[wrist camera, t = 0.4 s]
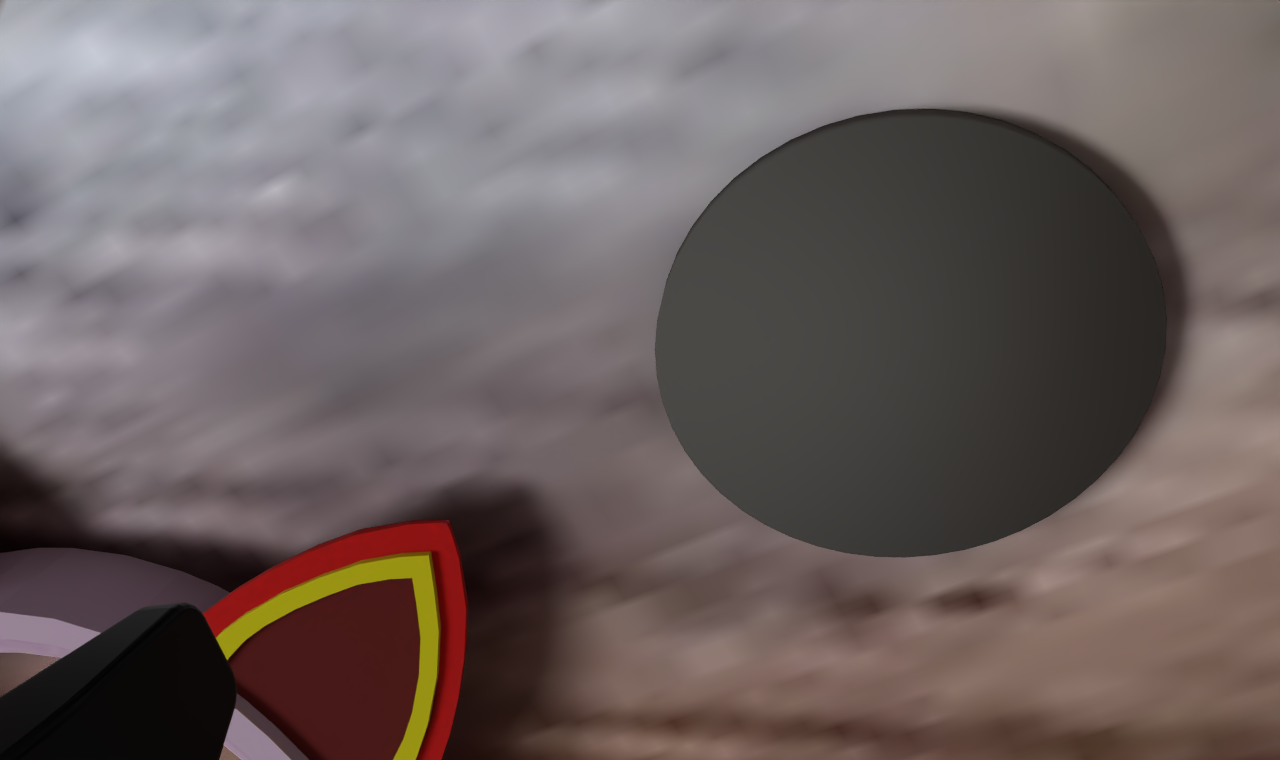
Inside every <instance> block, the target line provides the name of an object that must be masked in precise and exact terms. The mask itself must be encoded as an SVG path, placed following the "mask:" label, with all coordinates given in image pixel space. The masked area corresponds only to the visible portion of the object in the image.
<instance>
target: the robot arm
mask: <svg viewBox="0 0 1280 760" xmlns="http://www.w3.org/2000/svg"><path fill="white" fill-rule="evenodd" d="M236 698H237V684H236V680H235V675H234V673H233V671H232V669H231V667H230V665H229V663H228V661H227V659H226V657H225V655H224V653H223V651H222V649H221V647H220V645H219V643H218V641H217V640H216V638H215V636H214V634H213V632H212V630H211V628H210V626H209V624H208V622H207V620H206V618H205V616H204V615H203V613H202V612H201V611H200V610H199V609H198V608H197V607H196V606H194V605H193V604H189V603H185V602H181V603H170V604H160V605H151V606H146V607H143V608H140V609H138V610H136V611H135V612H133V613H132V614H130V615H128V616H127V617H125V618H124V619H122V620H121V621H119V622H117V623H116V624H114V625H113V626H111V627H110V628H108V629H106V630H105V631H103V632H102V633H100V634H99V635H97V636H96V637H94V638H92V639H91V640H89V641H88V642H86V643H85V644H83V645H81V646H80V647H78V648H77V649H75V650H74V651H72V652H70V653H69V654H67V655H66V656H64V657H63V658H61V659H59V660H58V661H56V662H55V663H53V664H52V665H50V666H49V667H47V668H45V669H44V670H42V671H41V672H39V673H38V674H36V675H34V676H33V677H31V678H30V679H28V680H27V681H25V682H23V683H22V684H20V685H19V686H17V687H16V688H14V689H12V690H11V691H9V692H8V693H6V694H5V695H3V696H1V697H0V760H219V758H220V755H221V752H222V748H223V745H224V742H225V739H226V735H227V732H228V729H229V726H230V722H231V719H232V716H233V713H234V709H235V705H236Z"/></svg>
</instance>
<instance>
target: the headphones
mask: <svg viewBox="0 0 1280 760" xmlns="http://www.w3.org/2000/svg"><path fill="white" fill-rule="evenodd" d="M181 602H185V603H189V604H193V605H194V606H196V607H197V608H198V609H199V610H200V611H201V612H202V613H203V615H204V616H205V618H206V620H207V622H208V624H209V626H210V628H211V630H212V632H213V634H214V636H215V638H216V640H217V641H218V643H219V645H220V647H221V649H222V651H223V653H224V655H225V657H226V659H227V661H228V663H229V665H230V667H231V669H232V671H233V673H234V675H235V680H236V684H237V698H236V705H235V709H234V713H233V716H232V719H231V722H230V726H229V729H228V732H227V735H226V739H225V742H224V746H225V747H227V748H228V749H229V750H230V751H231V752H233V753H234V754H235V755H236V756H237V757H239V758H240V759H241V760H442V757H443V754H444V751H445V748H446V745H447V742H448V739H449V736H450V733H451V730H452V727H453V722H454V718H455V714H456V709H457V705H458V701H459V696H460V692H461V685H462V678H463V671H464V663H465V656H466V648H467V626H468V598H467V592H466V585H465V579H464V573H463V567H462V561H461V554H460V551H459V548H458V545H457V542H456V539H455V536H454V533H453V530H452V527H451V524H450V521H449V520H413V521H407V522H401V523H395V524H389V525H383V526H377V527H371V528H365V529H360V530H357V531H355V532H352V533H349V534H346V535H344V536H341V537H338V538H335V539H333V540H330V541H327V542H324V543H322V544H319V545H317V546H315V547H313V548H310V549H308V550H306V551H304V552H302V553H300V554H298V555H296V556H294V557H292V558H290V559H287V560H285V561H283V562H281V563H279V564H277V565H275V566H273V567H271V568H270V569H268V570H266V571H265V572H263V573H261V574H260V575H258V576H256V577H254V578H253V579H251V580H249V581H248V582H246V583H244V584H242V585H241V586H239V587H238V588H236V589H235V590H234V591H232V592H231V593H230V592H228V591H226V590H224V589H222V588H220V587H218V586H216V585H214V584H212V583H209V582H207V581H204V580H202V579H199V578H197V577H195V576H192V575H190V574H187V573H185V572H182V571H179V570H176V569H172V568H169V567H165V566H162V565H158V564H155V563H152V562H148V561H145V560H141V559H138V558H134V557H131V556H127V555H121V554H114V553H106V552H99V551H91V550H84V549H76V548H33V549H26V550H19V551H12V552H5V553H0V653H27V654H35V655H43V656H51V657H59V658H63V657H64V656H66V655H67V654H69V653H70V652H72V651H74V650H75V649H77V648H78V647H80V646H81V645H83V644H85V643H86V642H88V641H89V640H91V639H92V638H94V637H96V636H97V635H99V634H100V633H102V632H103V631H105V630H106V629H108V628H110V627H111V626H113V625H114V624H116V623H117V622H119V621H121V620H122V619H124V618H125V617H127V616H128V615H130V614H132V613H133V612H135V611H136V610H138V609H140V608H143V607H146V606H151V605H160V604H170V603H181Z"/></svg>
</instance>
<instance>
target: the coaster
mask: <svg viewBox="0 0 1280 760" xmlns="http://www.w3.org/2000/svg"><path fill="white" fill-rule="evenodd" d="M1166 320H1167V317H1166V309H1165V301H1164V293H1163V287H1162V284H1161V280H1160V277H1159V274H1158V270H1157V267H1156V263H1155V260H1154V257H1153V255H1152V253H1151V251H1150V249H1149V247H1148V245H1147V243H1146V241H1145V239H1144V237H1143V235H1142V233H1141V231H1140V229H1139V228H1138V226H1137V225H1136V224H1135V222H1134V221H1133V219H1132V218H1131V216H1130V215H1129V214H1128V212H1127V211H1126V209H1125V208H1124V207H1123V205H1122V204H1121V202H1120V201H1119V200H1118V198H1117V197H1116V195H1115V194H1114V193H1113V192H1112V191H1111V190H1110V188H1109V187H1108V186H1107V185H1106V184H1105V183H1104V182H1103V181H1102V180H1101V179H1100V178H1099V177H1098V176H1097V175H1096V174H1095V173H1094V172H1093V171H1092V170H1091V169H1090V168H1088V167H1087V166H1086V165H1084V164H1083V163H1082V162H1080V161H1079V160H1078V159H1076V158H1075V157H1074V156H1073V155H1071V154H1070V153H1069V152H1067V151H1066V150H1065V149H1063V148H1061V147H1059V146H1057V145H1056V144H1054V143H1052V142H1050V141H1048V140H1046V139H1045V138H1043V137H1041V136H1039V135H1037V134H1035V133H1033V132H1031V131H1028V130H1025V129H1023V128H1020V127H1017V126H1015V125H1012V124H1009V123H1007V122H1004V121H1001V120H997V119H993V118H988V117H984V116H980V115H975V114H971V113H966V112H956V111H945V110H935V109H918V110H893V111H886V112H880V113H874V114H867V115H861V116H856V117H853V118H849V119H846V120H842V121H839V122H835V123H832V124H829V125H825V126H822V127H820V128H818V129H815V130H813V131H811V132H808V133H806V134H804V135H801V136H799V137H797V138H794V139H792V140H790V141H788V142H787V143H785V144H783V145H781V146H780V147H778V148H776V149H775V150H773V151H771V152H769V153H768V154H766V155H764V156H763V157H761V158H760V159H758V160H757V161H756V162H754V163H753V164H752V165H751V166H749V167H748V168H747V169H745V170H744V171H743V172H742V173H740V174H739V175H738V176H736V177H735V178H734V179H733V180H732V181H731V182H730V183H729V184H728V185H727V186H726V187H725V188H724V189H723V190H722V191H721V192H720V193H719V194H718V195H717V196H716V197H715V198H714V199H713V200H712V201H711V202H710V204H709V205H708V206H707V208H706V209H705V210H704V211H703V213H702V214H701V215H700V217H699V218H698V219H697V221H696V222H695V223H694V225H693V226H692V228H691V229H690V231H689V233H688V235H687V237H686V238H685V240H684V242H683V244H682V245H681V247H680V249H679V251H678V253H677V255H676V258H675V260H674V263H673V265H672V268H671V270H670V273H669V276H668V278H667V281H666V285H665V290H664V294H663V298H662V302H661V307H660V311H659V316H658V320H657V330H656V343H655V356H656V370H657V379H658V383H659V388H660V393H661V397H662V402H663V405H664V407H665V410H666V413H667V415H668V418H669V421H670V423H671V426H672V428H673V430H674V432H675V434H676V436H677V438H678V439H679V441H680V443H681V445H682V447H683V448H684V450H685V452H686V453H687V455H688V456H689V457H690V459H691V460H692V461H693V463H694V464H695V465H696V467H697V468H698V470H699V471H700V472H701V474H702V475H703V476H704V477H705V478H706V479H707V480H708V481H709V482H710V483H711V484H712V485H713V486H714V487H715V488H716V489H717V490H718V491H719V492H720V493H721V494H722V495H723V496H725V497H726V498H727V499H728V500H730V501H731V502H732V503H733V504H735V505H736V506H737V507H738V508H740V509H741V510H742V511H744V512H746V513H747V514H749V515H750V516H752V517H753V518H755V519H757V520H758V521H760V522H761V523H763V524H765V525H767V526H769V527H771V528H773V529H775V530H777V531H779V532H781V533H783V534H786V535H788V536H790V537H792V538H795V539H798V540H801V541H804V542H807V543H810V544H812V545H815V546H818V547H823V548H827V549H831V550H836V551H840V552H844V553H851V554H859V555H867V556H875V557H915V556H928V555H938V554H943V553H949V552H955V551H960V550H965V549H969V548H972V547H976V546H979V545H983V544H986V543H990V542H993V541H996V540H999V539H1001V538H1004V537H1006V536H1009V535H1011V534H1014V533H1016V532H1019V531H1021V530H1023V529H1025V528H1027V527H1029V526H1031V525H1033V524H1035V523H1037V522H1039V521H1040V520H1042V519H1044V518H1046V517H1048V516H1050V515H1051V514H1053V513H1054V512H1056V511H1057V510H1059V509H1060V508H1062V507H1063V506H1065V505H1066V504H1068V503H1069V502H1071V501H1072V500H1074V499H1075V498H1076V497H1077V496H1078V495H1080V494H1081V493H1082V492H1083V491H1084V490H1085V489H1087V488H1088V487H1089V486H1090V485H1091V484H1092V483H1094V482H1095V481H1096V480H1097V479H1098V478H1099V477H1100V476H1101V475H1102V474H1103V473H1104V472H1105V471H1106V470H1107V468H1108V467H1109V466H1110V465H1111V464H1112V463H1113V462H1114V461H1115V460H1116V459H1117V458H1118V456H1119V455H1120V454H1121V452H1122V451H1123V449H1124V448H1125V447H1126V445H1127V444H1128V442H1129V441H1130V439H1131V438H1132V437H1133V435H1134V434H1135V432H1136V431H1137V429H1138V427H1139V425H1140V423H1141V421H1142V419H1143V417H1144V415H1145V414H1146V412H1147V410H1148V408H1149V406H1150V403H1151V401H1152V398H1153V395H1154V392H1155V389H1156V386H1157V384H1158V381H1159V378H1160V374H1161V368H1162V363H1163V358H1164V353H1165V348H1166Z"/></svg>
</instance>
